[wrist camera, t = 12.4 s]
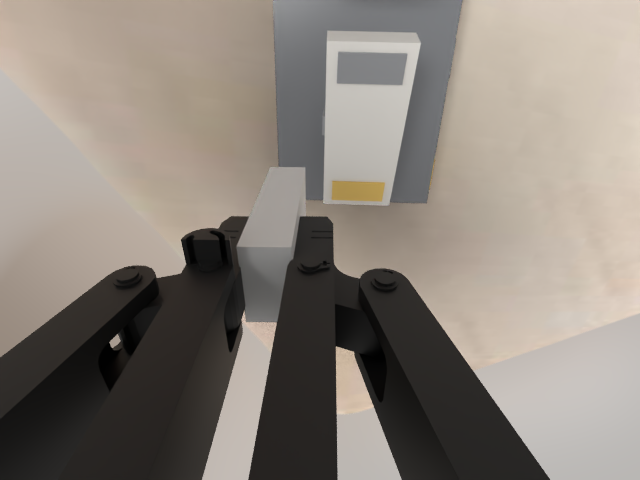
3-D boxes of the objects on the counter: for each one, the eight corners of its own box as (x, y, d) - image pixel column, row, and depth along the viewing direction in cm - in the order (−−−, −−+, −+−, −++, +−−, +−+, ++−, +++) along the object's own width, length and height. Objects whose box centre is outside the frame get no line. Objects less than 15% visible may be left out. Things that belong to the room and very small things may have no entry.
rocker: (327, 30, 20) (326, 41, 19) (416, 32, 20) (421, 44, 18) (323, 189, 28) (323, 205, 27) (386, 191, 28) (389, 206, 27)
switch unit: (275, -266, 21) (248, -410, 14) (489, -264, 21) (565, -409, 14) (286, 178, 34) (275, 213, 27) (418, 182, 34) (440, 218, 27)
